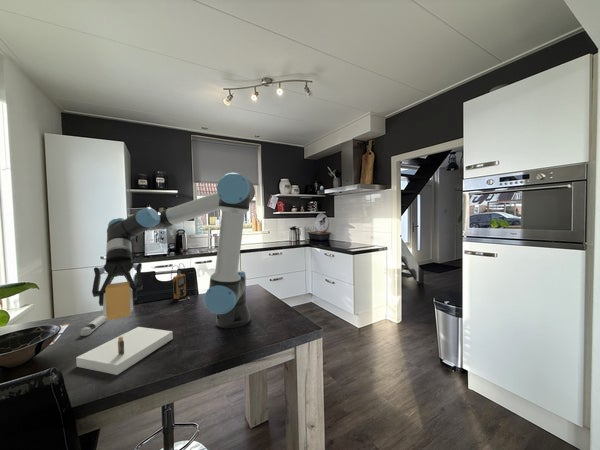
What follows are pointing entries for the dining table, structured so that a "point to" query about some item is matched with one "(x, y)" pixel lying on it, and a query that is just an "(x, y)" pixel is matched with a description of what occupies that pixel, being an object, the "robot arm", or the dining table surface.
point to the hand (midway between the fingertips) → (118, 311)
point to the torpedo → (93, 325)
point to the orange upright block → (118, 300)
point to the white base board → (124, 350)
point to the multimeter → (179, 285)
